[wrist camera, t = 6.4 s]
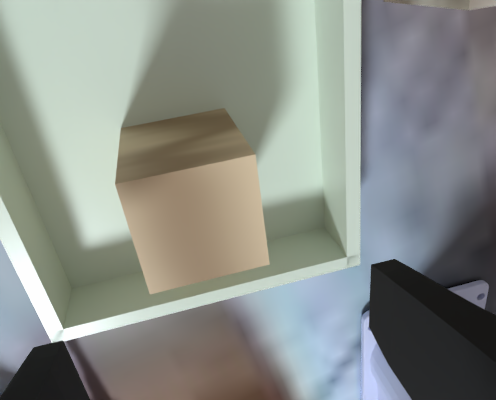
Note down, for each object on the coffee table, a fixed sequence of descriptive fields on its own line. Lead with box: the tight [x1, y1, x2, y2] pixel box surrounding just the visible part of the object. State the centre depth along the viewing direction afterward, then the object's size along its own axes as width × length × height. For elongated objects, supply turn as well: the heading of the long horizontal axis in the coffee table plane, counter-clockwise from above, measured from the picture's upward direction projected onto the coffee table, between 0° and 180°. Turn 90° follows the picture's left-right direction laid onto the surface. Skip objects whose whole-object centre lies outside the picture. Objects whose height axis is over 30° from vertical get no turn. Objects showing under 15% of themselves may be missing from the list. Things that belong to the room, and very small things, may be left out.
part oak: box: [115, 108, 270, 294], centre depth 15 cm, size 4×4×5 cm
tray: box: [0, 0, 361, 343], centre depth 15 cm, size 18×13×3 cm
